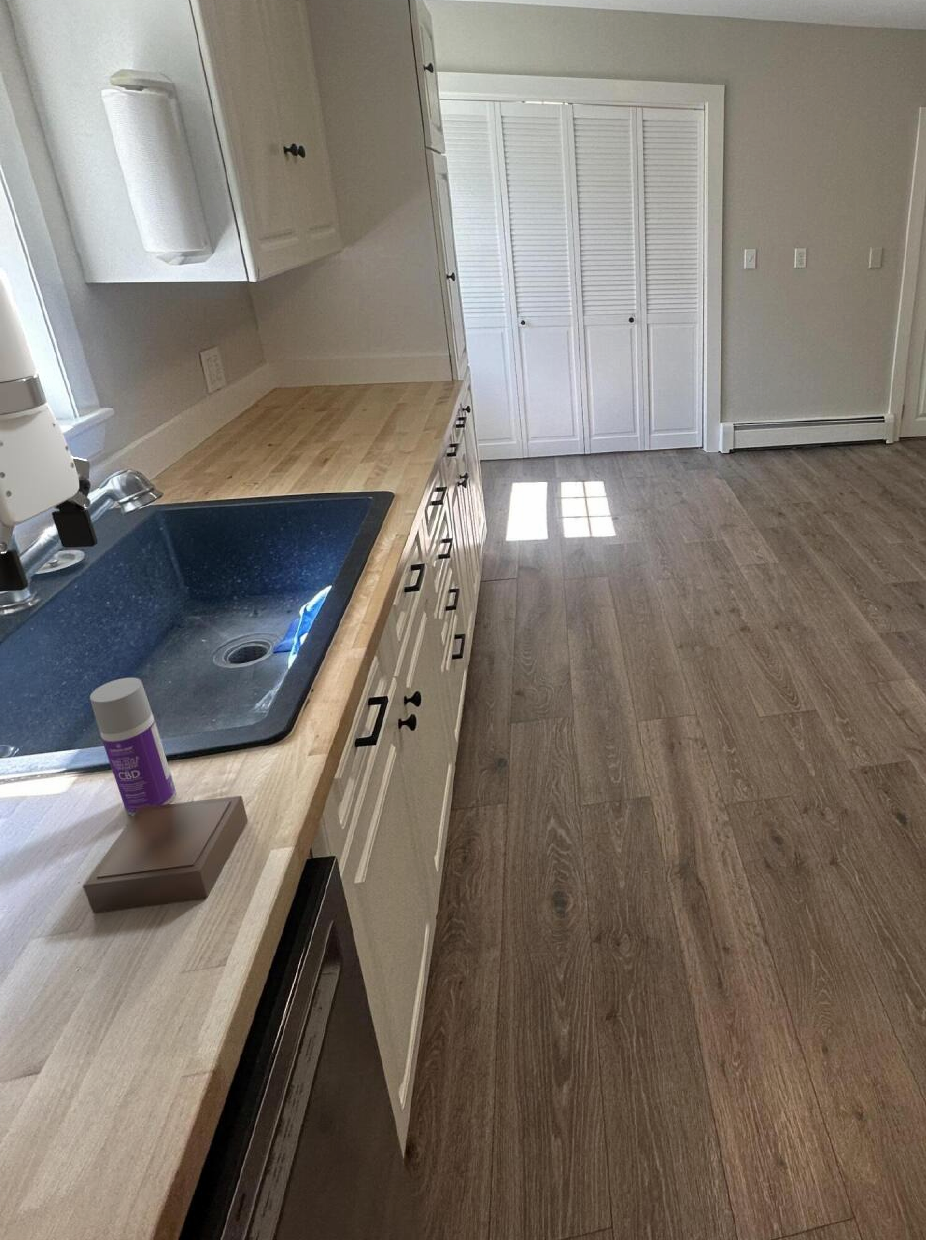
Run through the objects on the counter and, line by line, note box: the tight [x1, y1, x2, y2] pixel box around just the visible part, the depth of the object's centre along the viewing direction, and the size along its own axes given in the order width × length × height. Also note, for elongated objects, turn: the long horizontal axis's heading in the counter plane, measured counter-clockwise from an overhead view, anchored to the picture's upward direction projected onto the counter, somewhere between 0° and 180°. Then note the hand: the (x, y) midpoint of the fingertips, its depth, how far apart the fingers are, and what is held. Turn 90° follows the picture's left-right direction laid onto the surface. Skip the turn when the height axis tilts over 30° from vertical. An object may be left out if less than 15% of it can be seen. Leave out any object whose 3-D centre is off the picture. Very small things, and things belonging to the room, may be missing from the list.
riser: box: [82, 795, 249, 914], centre depth 75 cm, size 10×10×4 cm
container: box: [89, 677, 177, 817], centre depth 81 cm, size 5×5×15 cm
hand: (47, 566), depth 73 cm, fingers open, 9 cm apart
